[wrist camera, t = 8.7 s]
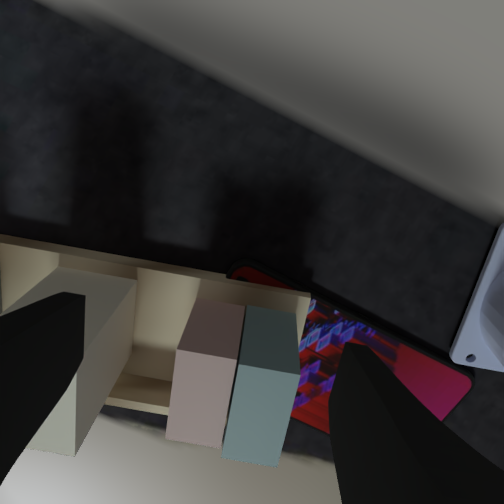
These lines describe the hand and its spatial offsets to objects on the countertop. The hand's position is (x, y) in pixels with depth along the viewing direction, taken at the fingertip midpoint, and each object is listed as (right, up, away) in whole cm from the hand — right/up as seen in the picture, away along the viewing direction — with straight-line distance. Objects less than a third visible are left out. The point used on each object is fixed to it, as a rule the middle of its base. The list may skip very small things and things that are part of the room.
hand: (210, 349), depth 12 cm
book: (-7, 0, +11) cm, 13 cm away
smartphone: (+5, -4, +13) cm, 14 cm away
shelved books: (+1, -2, +12) cm, 12 cm away
